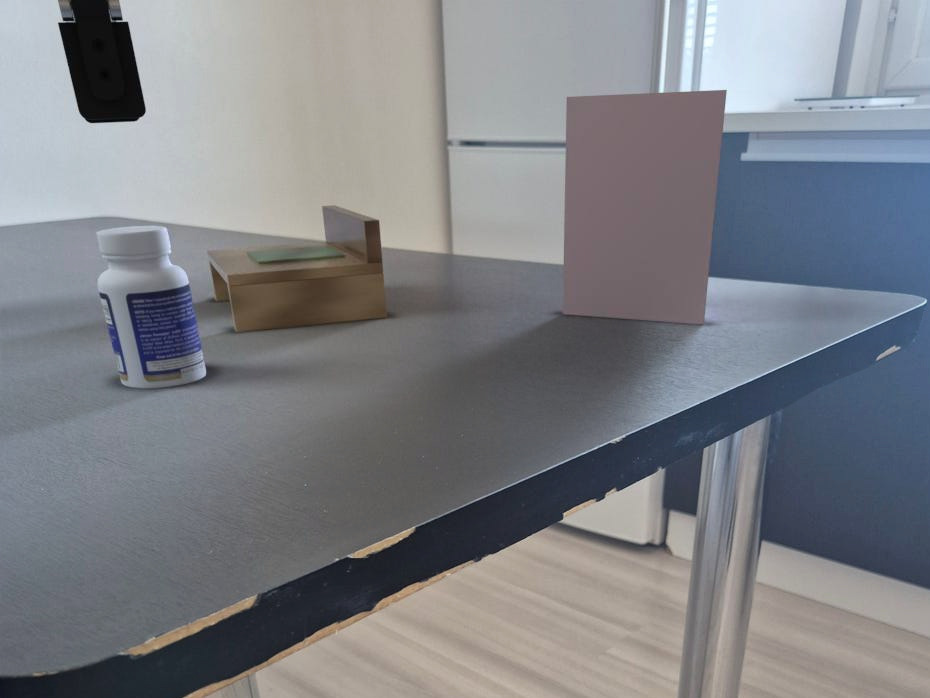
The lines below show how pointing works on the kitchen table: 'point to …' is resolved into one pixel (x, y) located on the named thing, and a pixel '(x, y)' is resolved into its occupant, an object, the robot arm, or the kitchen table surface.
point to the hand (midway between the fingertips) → (113, 120)
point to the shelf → (305, 277)
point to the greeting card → (641, 204)
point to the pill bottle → (148, 309)
